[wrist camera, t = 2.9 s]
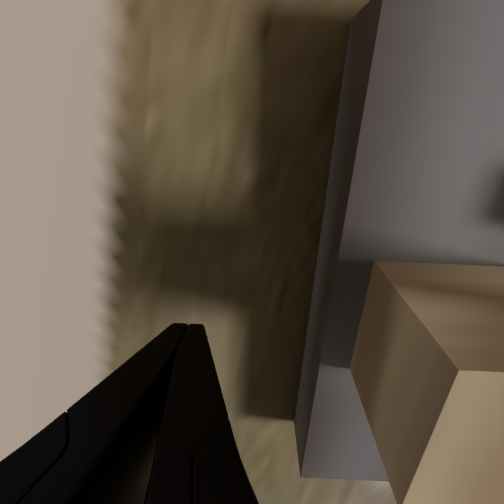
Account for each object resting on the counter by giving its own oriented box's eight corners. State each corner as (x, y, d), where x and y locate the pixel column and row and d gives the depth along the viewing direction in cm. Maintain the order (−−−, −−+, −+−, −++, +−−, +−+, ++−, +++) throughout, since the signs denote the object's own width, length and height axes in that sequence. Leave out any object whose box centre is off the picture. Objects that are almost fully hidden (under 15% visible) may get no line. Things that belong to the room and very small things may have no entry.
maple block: (349, 368, 10) (399, 510, 7) (374, 260, 9) (459, 369, 5) (469, 374, 10) (586, 519, 7) (517, 267, 9) (708, 381, 5)
